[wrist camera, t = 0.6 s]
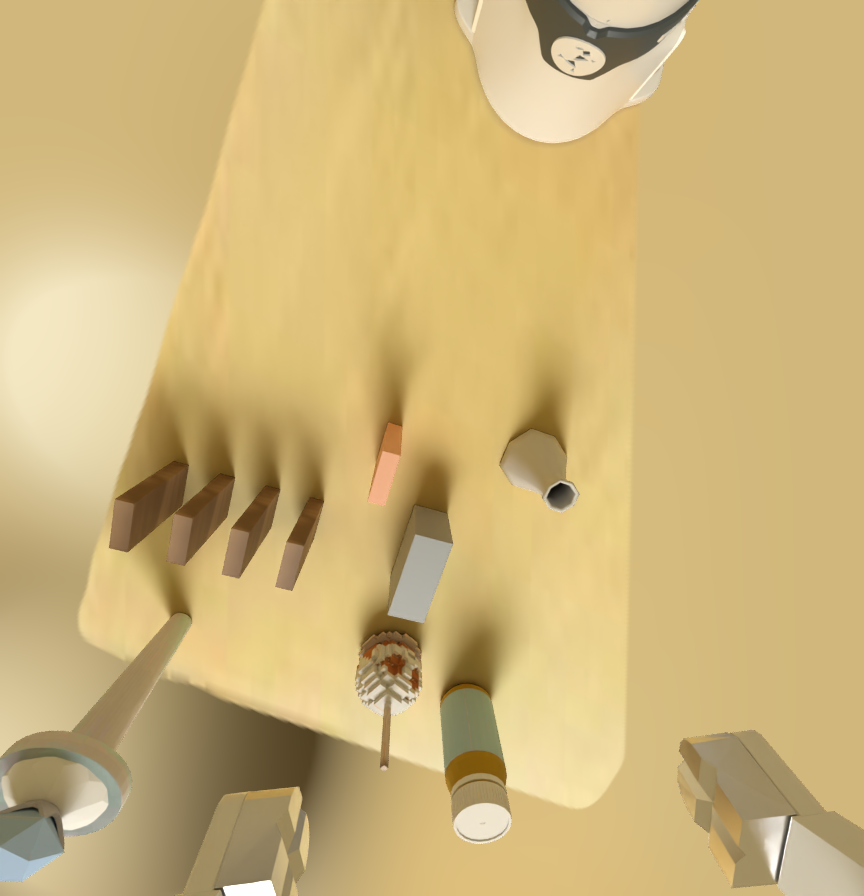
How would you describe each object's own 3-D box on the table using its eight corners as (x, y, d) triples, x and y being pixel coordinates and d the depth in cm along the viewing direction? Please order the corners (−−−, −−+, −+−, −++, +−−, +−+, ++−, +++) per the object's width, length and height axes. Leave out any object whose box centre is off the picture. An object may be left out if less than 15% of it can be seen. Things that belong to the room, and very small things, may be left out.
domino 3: (257, 524, 51) (221, 574, 41) (265, 485, 49) (231, 528, 40) (271, 527, 51) (239, 578, 41) (280, 489, 49) (249, 532, 40)
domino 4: (300, 535, 51) (275, 586, 42) (310, 497, 50) (286, 541, 40) (313, 538, 52) (292, 590, 42) (324, 500, 50) (303, 546, 41)
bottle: (445, 725, 61) (456, 852, 47) (434, 687, 59) (442, 807, 45) (495, 714, 61) (521, 838, 47) (485, 675, 59) (509, 793, 45)
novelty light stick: (140, 649, 55) (-65, 910, 31) (136, 582, 52) (-93, 812, 28) (223, 657, 56) (84, 915, 32) (224, 590, 53) (73, 821, 29)
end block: (414, 504, 51) (415, 534, 44) (447, 513, 51) (453, 544, 45) (390, 576, 54) (387, 615, 47) (421, 584, 54) (423, 623, 47)
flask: (530, 416, 48) (559, 443, 39) (577, 454, 50) (616, 489, 40) (487, 466, 50) (506, 503, 40) (534, 501, 51) (562, 545, 42)
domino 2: (212, 513, 50) (166, 561, 40) (220, 473, 49) (174, 514, 39) (227, 516, 50) (184, 565, 41) (235, 477, 49) (192, 518, 39)
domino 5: (375, 463, 49) (367, 501, 40) (388, 422, 48) (382, 450, 38) (389, 467, 49) (384, 506, 40) (402, 426, 48) (400, 455, 38)
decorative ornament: (433, 651, 57) (440, 765, 43) (391, 686, 59) (385, 808, 44) (389, 617, 55) (382, 724, 41) (347, 654, 57) (326, 770, 43)
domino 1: (167, 501, 49) (109, 548, 40) (173, 461, 48) (115, 499, 38) (182, 505, 50) (127, 552, 40) (188, 465, 48) (134, 503, 39)
